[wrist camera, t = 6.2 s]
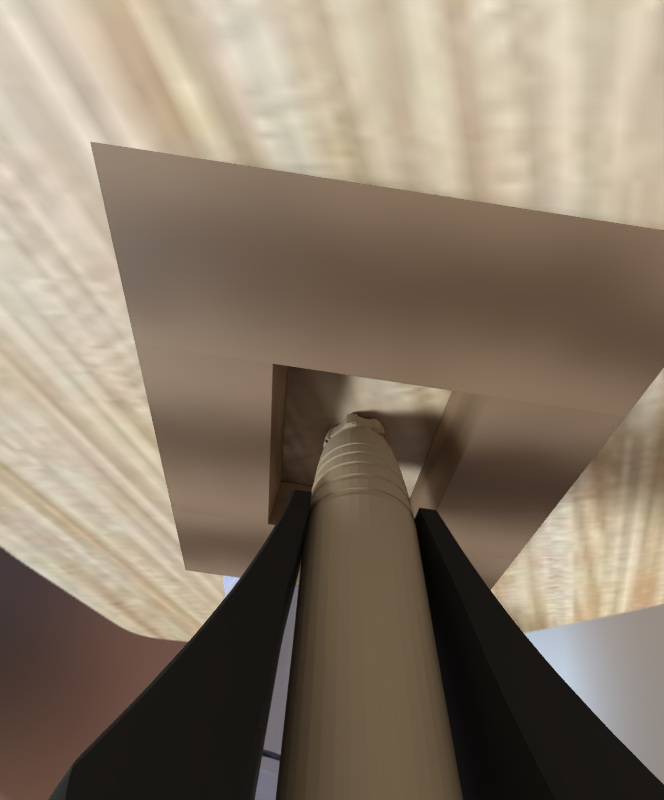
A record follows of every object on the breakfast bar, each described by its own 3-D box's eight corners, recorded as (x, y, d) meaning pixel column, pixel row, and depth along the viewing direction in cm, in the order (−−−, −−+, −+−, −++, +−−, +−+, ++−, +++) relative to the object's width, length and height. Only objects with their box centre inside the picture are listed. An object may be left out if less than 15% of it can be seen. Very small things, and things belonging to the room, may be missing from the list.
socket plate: (457, 563, 20) (473, 611, 17) (208, 526, 20) (185, 569, 17) (652, 245, 10) (759, 245, 7) (159, 169, 10) (89, 141, 7)
